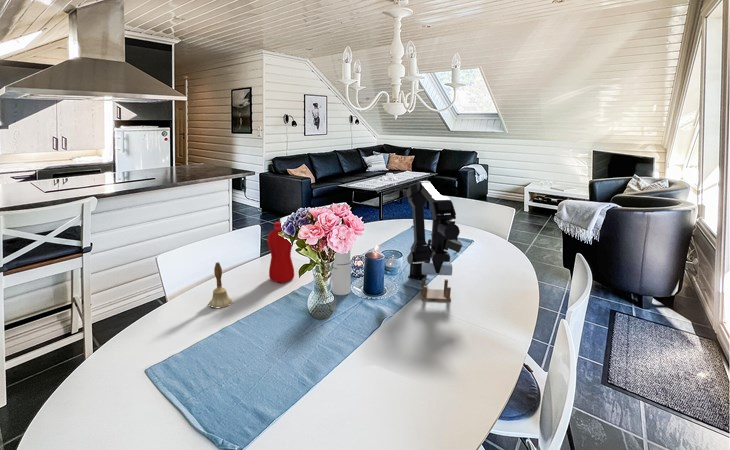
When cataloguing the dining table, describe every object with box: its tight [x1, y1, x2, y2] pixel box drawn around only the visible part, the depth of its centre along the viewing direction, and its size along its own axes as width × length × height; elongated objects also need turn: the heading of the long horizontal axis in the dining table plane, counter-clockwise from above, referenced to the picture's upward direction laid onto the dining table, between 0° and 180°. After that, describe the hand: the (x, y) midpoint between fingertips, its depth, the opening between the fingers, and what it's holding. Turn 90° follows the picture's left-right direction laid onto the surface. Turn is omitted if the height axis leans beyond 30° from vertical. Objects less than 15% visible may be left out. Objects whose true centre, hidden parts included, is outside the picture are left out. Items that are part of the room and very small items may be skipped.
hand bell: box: [208, 261, 233, 308], centre depth 140 cm, size 8×8×16 cm
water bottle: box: [266, 221, 295, 284], centre depth 161 cm, size 9×11×25 cm
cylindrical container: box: [331, 248, 352, 296], centre depth 150 cm, size 7×7×25 cm
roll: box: [422, 262, 453, 277], centre depth 147 cm, size 11×4×4 cm, turn 87°
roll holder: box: [420, 278, 452, 302], centre depth 150 cm, size 11×8×6 cm
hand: (436, 270), depth 147 cm, fingers closed on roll, 4 cm apart
